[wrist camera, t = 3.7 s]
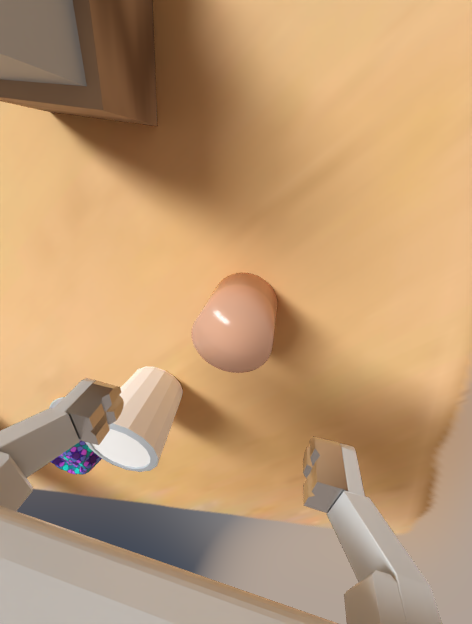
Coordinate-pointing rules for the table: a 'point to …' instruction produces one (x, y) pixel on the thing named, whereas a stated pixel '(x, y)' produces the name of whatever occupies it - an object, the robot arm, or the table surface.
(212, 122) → the table surface
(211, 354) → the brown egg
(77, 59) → the tower mid
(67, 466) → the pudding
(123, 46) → the tower base
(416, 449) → the table surface
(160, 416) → the shot glass
